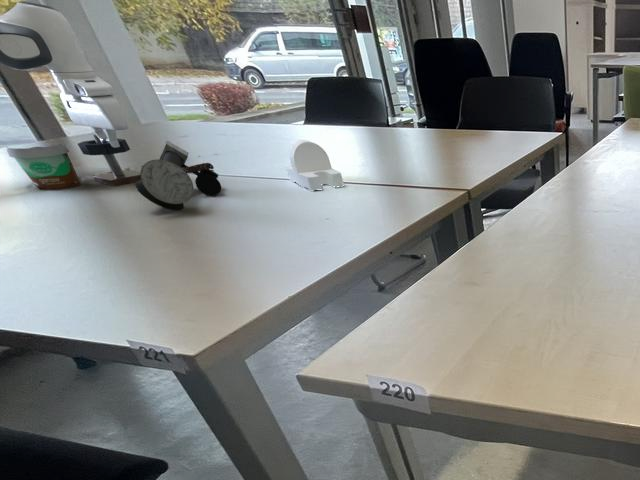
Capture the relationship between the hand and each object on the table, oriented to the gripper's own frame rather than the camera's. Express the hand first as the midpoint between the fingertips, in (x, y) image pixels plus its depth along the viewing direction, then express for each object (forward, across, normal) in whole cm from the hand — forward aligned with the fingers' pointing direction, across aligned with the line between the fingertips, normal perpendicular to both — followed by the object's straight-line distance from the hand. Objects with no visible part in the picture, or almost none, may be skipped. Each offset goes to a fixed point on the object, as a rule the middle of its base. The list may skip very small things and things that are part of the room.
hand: (112, 146), depth 140 cm
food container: (+9, -9, -13) cm, 18 cm away
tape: (+2, -4, 0) cm, 4 cm away
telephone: (+9, +32, -4) cm, 33 cm away
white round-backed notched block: (+9, +45, +26) cm, 53 cm away
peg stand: (+9, -4, 0) cm, 10 cm away
